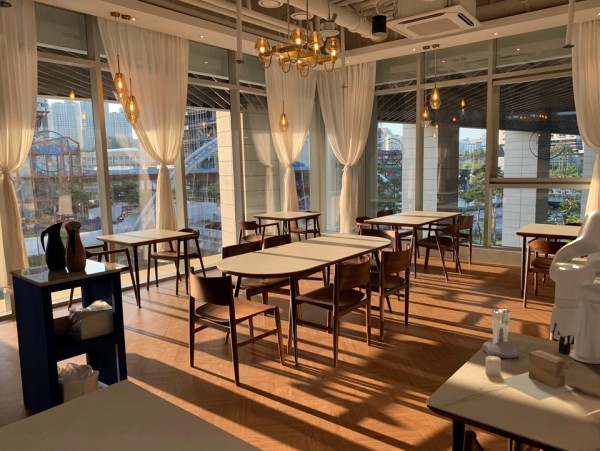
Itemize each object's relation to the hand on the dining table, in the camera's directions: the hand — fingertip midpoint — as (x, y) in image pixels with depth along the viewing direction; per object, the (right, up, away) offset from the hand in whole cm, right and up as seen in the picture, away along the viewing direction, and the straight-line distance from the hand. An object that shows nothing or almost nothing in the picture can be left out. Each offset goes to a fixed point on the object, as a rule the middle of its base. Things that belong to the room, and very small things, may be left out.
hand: (564, 353), depth 165 cm
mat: (-13, -10, -5) cm, 17 cm away
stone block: (-13, -7, +23) cm, 27 cm away
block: (-8, -9, -3) cm, 12 cm away
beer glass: (-9, -6, +32) cm, 34 cm away
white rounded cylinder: (-23, -9, +4) cm, 25 cm away
